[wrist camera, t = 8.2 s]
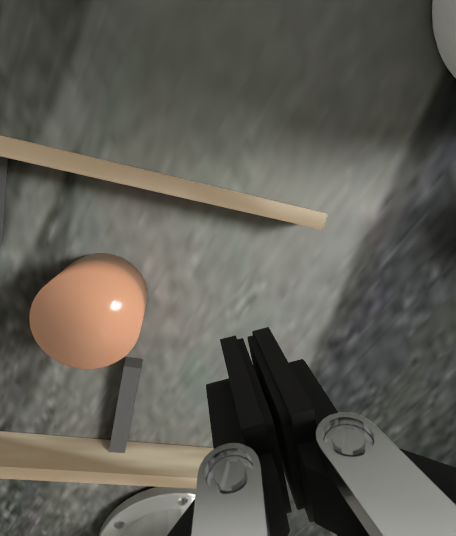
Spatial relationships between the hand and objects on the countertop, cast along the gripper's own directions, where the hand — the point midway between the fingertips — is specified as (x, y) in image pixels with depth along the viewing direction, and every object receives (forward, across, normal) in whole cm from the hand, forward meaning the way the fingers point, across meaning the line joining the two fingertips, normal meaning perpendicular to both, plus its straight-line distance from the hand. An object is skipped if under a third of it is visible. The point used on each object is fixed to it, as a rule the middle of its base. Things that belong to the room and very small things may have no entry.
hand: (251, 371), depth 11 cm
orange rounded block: (+13, +8, 0) cm, 15 cm away
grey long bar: (+13, +9, +9) cm, 18 cm away
